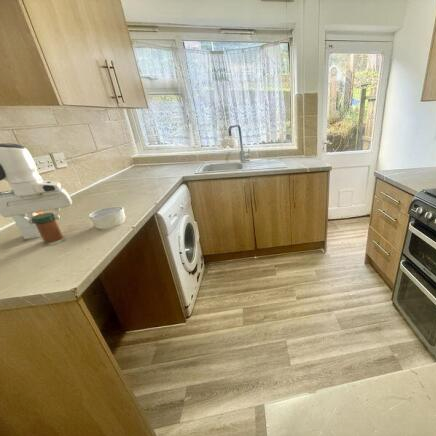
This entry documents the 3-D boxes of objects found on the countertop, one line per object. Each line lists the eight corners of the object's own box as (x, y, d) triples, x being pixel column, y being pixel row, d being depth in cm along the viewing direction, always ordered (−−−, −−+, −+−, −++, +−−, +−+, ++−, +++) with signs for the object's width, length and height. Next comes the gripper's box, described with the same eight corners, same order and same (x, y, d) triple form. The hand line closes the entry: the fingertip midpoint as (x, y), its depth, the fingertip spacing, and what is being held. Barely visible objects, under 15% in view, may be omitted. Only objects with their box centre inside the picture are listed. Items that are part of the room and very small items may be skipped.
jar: (43, 245, 97) (31, 221, 93) (46, 240, 102) (34, 216, 98) (62, 241, 100) (51, 218, 96) (64, 236, 105) (54, 213, 101)
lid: (50, 221, 96) (48, 217, 95) (29, 224, 94) (27, 220, 93) (58, 215, 101) (56, 211, 100) (38, 218, 99) (36, 214, 98)
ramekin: (108, 219, 121) (103, 206, 118) (134, 218, 120) (129, 205, 117) (87, 231, 109) (81, 217, 106) (115, 231, 108) (110, 216, 105)
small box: (43, 236, 104) (28, 208, 99) (24, 239, 103) (8, 211, 97) (52, 229, 111) (38, 202, 106) (35, 231, 110) (20, 204, 104)
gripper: (-15, 195, 84) (5, 231, 90) (63, 185, 95) (76, 217, 100) (-8, 191, 89) (10, 225, 94) (65, 181, 99) (77, 213, 105)
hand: (45, 221), depth 97 cm, fingers closed on lid, 6 cm apart
